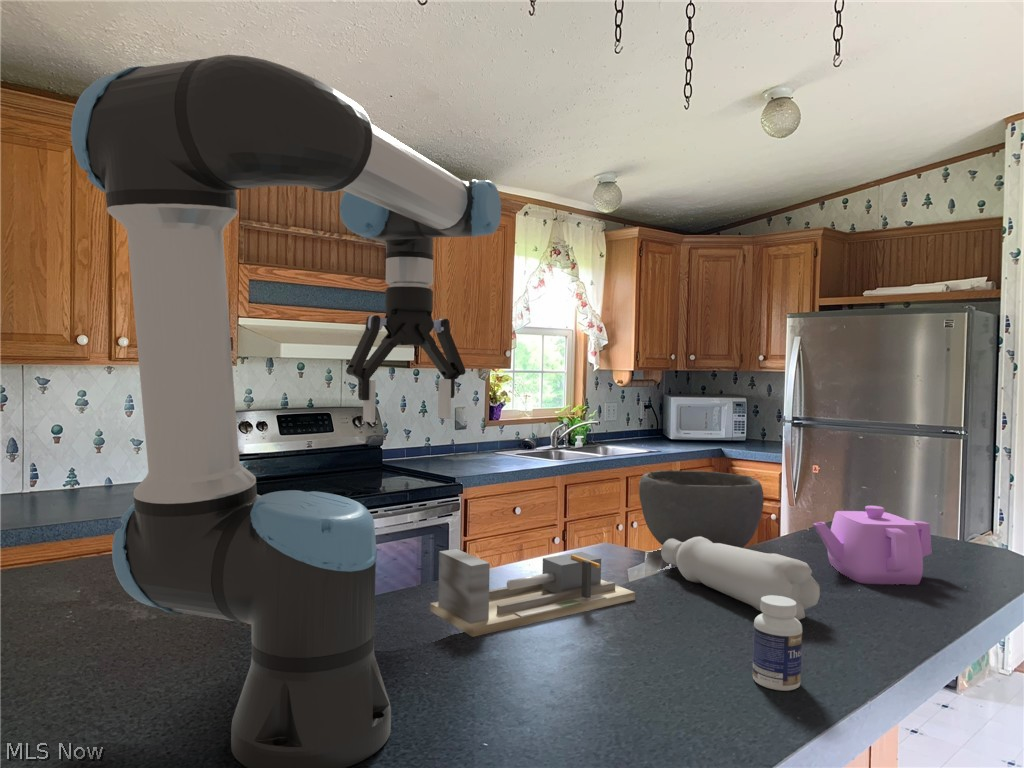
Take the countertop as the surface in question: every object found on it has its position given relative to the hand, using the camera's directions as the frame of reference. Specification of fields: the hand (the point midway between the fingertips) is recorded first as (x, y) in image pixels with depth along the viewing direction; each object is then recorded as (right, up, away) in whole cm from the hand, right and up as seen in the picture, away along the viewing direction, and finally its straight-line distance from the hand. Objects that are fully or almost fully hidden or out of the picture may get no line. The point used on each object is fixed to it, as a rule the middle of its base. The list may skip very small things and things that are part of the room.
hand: (407, 420), depth 118 cm
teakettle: (+82, -29, +16) cm, 88 cm away
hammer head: (+28, -26, -7) cm, 39 cm away
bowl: (+54, -28, +30) cm, 68 cm away
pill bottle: (+48, -30, -31) cm, 64 cm away
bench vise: (+20, -28, -5) cm, 35 cm away
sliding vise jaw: (+24, -27, -5) cm, 36 cm away
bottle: (+52, -29, +2) cm, 60 cm away
